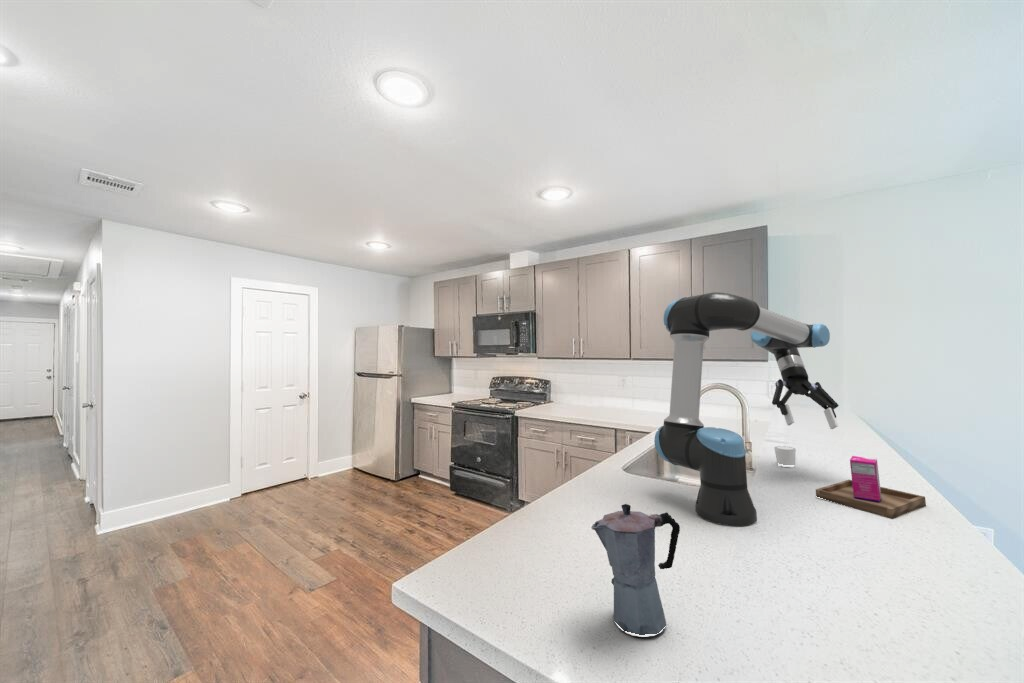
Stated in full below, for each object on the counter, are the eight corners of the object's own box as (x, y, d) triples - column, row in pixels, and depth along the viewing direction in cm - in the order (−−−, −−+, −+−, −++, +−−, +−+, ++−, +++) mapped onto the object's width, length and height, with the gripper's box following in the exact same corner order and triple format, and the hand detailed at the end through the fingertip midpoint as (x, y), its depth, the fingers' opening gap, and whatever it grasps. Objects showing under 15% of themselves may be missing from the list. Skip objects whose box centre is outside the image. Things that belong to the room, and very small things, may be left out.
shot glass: (800, 468, 147) (799, 450, 148) (780, 468, 149) (779, 449, 149) (791, 463, 154) (790, 445, 154) (772, 463, 156) (771, 445, 156)
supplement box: (855, 493, 118) (852, 455, 119) (881, 497, 114) (878, 458, 114) (852, 498, 114) (849, 459, 115) (880, 503, 110) (876, 462, 111)
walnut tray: (892, 518, 102) (891, 509, 102) (816, 497, 119) (815, 489, 119) (925, 505, 109) (925, 496, 110) (849, 487, 126) (848, 479, 126)
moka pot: (589, 607, 72) (584, 497, 73) (669, 599, 73) (663, 491, 74) (606, 645, 62) (599, 518, 63) (698, 635, 64) (690, 511, 64)
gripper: (822, 378, 143) (845, 433, 130) (751, 373, 145) (767, 426, 132) (836, 367, 136) (860, 424, 124) (761, 362, 138) (778, 417, 126)
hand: (812, 425), depth 128 cm, fingers open, 13 cm apart
